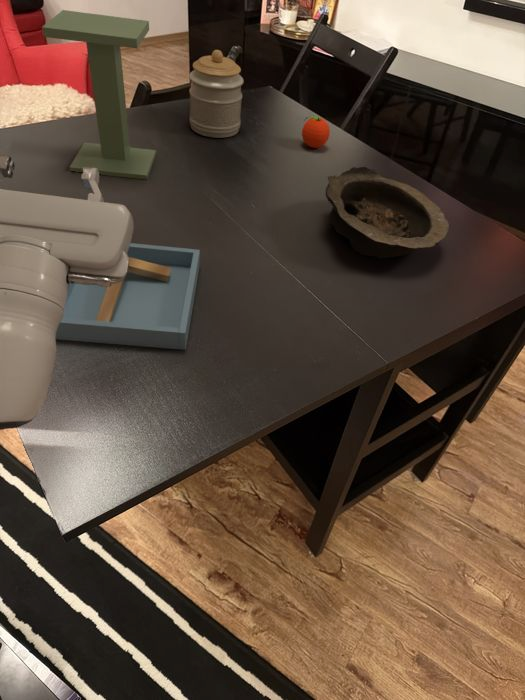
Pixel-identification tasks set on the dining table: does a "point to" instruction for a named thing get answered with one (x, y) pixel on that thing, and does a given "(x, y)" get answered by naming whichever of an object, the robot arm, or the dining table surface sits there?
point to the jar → (215, 96)
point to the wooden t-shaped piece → (114, 291)
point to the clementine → (315, 132)
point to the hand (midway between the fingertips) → (49, 164)
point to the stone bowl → (382, 214)
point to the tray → (138, 304)
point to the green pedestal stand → (106, 89)
